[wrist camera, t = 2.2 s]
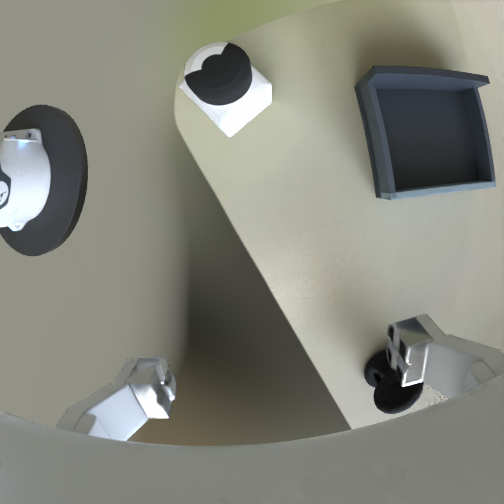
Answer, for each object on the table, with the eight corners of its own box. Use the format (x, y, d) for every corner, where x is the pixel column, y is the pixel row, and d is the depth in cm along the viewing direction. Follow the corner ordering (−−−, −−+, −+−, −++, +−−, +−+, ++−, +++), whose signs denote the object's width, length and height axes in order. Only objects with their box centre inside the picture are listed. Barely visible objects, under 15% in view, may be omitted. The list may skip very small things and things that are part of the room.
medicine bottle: (273, 102, 33) (274, 66, 21) (229, 138, 34) (210, 118, 23) (235, 66, 32) (220, 21, 20) (193, 101, 34) (160, 69, 22)
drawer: (475, 185, 33) (509, 188, 25) (376, 197, 35) (401, 202, 27) (457, 88, 30) (487, 76, 22) (353, 87, 32) (373, 65, 24)
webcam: (374, 392, 42) (391, 433, 32) (354, 366, 41) (371, 409, 31) (413, 365, 40) (437, 402, 30) (396, 337, 39) (423, 374, 29)
